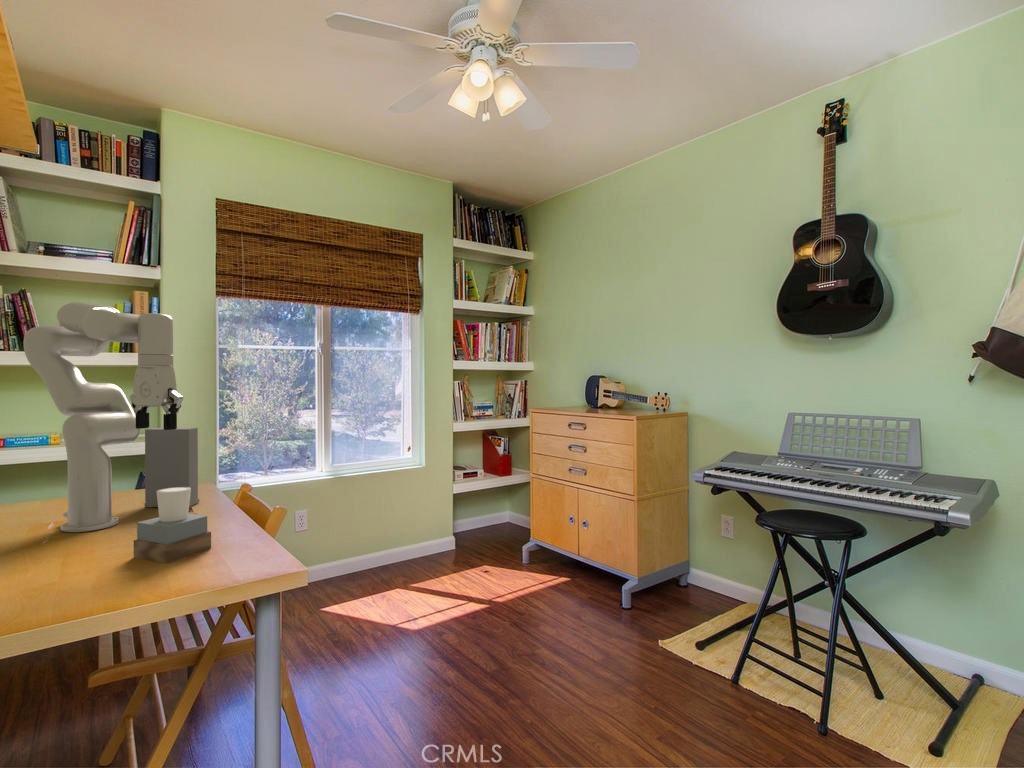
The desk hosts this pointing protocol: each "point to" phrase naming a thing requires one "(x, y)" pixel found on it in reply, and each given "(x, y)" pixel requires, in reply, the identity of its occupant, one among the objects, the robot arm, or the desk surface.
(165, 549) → the base block
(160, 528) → the top block
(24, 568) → the desk surface
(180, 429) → the tall grey upright box
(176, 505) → the beige cup
